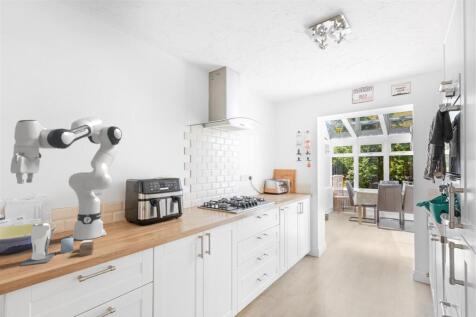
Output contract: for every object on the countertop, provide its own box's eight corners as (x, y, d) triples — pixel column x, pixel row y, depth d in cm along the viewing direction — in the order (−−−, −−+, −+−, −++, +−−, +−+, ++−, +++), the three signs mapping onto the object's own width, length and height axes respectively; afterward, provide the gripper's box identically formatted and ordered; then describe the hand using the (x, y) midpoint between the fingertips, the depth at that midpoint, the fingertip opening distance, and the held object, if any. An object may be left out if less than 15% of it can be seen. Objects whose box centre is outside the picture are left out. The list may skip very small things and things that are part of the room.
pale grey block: (83, 248, 120) (83, 240, 120) (92, 247, 121) (92, 239, 122) (79, 252, 115) (79, 243, 115) (88, 251, 116) (89, 242, 116)
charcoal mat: (31, 256, 108) (31, 255, 108) (55, 253, 111) (55, 252, 111) (20, 266, 97) (20, 265, 97) (47, 262, 100) (47, 261, 100)
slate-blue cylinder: (62, 250, 116) (62, 238, 116) (74, 249, 118) (74, 237, 118) (59, 253, 111) (59, 241, 112) (71, 252, 113) (72, 239, 114)
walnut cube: (81, 252, 113) (81, 242, 113) (93, 251, 115) (93, 241, 115) (79, 256, 108) (79, 245, 109) (91, 254, 110) (92, 244, 111)
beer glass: (27, 258, 103) (29, 224, 104) (47, 254, 109) (48, 222, 110) (32, 262, 99) (34, 227, 100) (52, 257, 105) (54, 224, 106)
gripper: (25, 152, 101) (23, 184, 100) (42, 155, 119) (41, 182, 118) (6, 151, 98) (4, 184, 97) (27, 154, 117) (25, 182, 116)
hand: (24, 183), depth 108 cm, fingers open, 8 cm apart
